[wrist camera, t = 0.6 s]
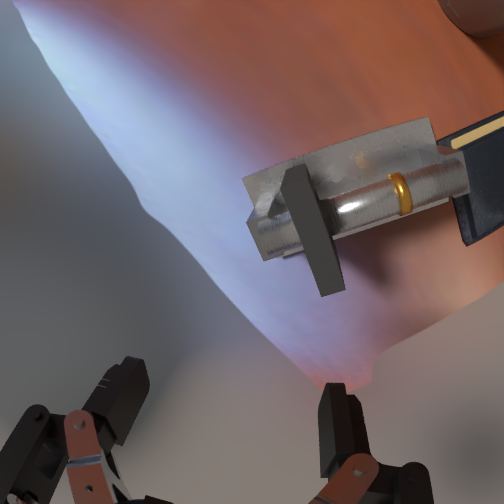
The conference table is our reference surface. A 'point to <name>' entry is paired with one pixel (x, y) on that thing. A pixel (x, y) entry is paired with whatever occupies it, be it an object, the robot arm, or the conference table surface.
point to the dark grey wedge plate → (312, 229)
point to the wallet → (480, 177)
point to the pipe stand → (359, 184)
